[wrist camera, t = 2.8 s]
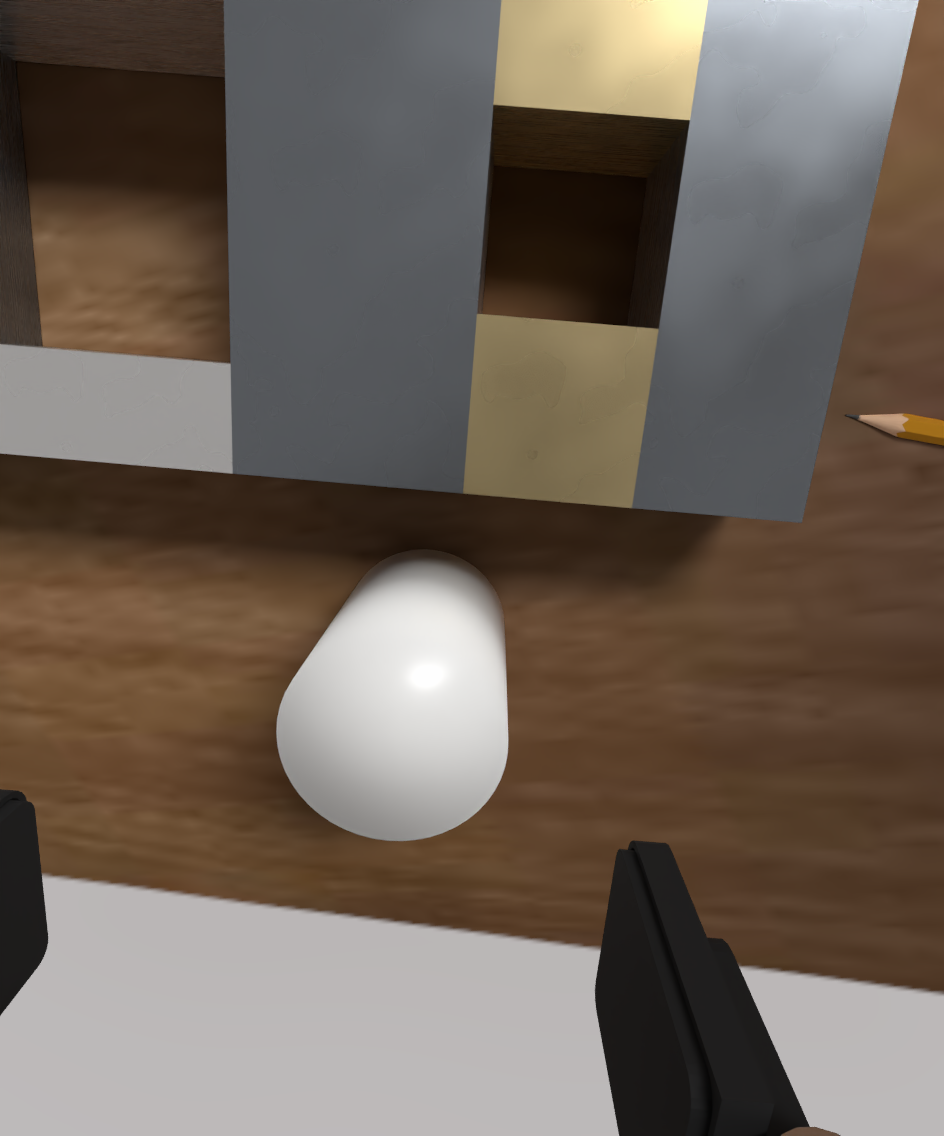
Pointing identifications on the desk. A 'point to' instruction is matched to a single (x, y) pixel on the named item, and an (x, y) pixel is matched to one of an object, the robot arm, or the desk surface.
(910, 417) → the pencil
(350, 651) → the white capsule cylinder
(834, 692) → the desk surface
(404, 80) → the socket block
